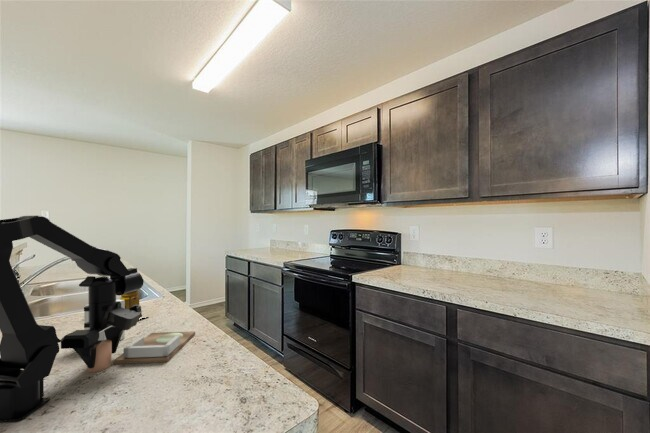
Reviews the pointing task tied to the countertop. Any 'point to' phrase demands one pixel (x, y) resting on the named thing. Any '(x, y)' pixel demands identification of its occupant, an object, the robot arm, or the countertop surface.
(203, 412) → the countertop surface
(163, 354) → the frame
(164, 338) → the board
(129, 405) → the countertop surface
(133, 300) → the condiment
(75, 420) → the countertop surface
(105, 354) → the stub
